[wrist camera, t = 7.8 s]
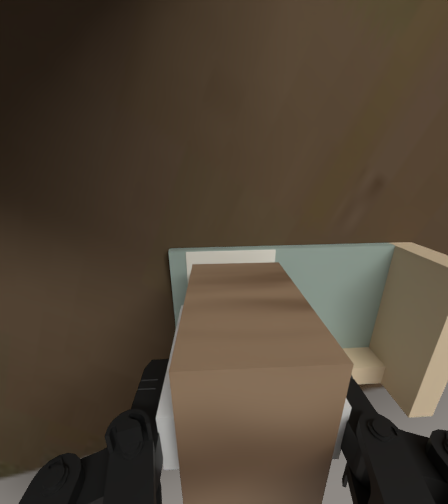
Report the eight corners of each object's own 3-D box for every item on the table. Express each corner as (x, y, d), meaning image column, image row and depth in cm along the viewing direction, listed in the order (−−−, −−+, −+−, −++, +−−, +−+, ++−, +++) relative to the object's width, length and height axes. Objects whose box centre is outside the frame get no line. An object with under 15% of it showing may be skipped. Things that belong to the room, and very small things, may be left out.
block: (192, 264, 13) (168, 372, 6) (278, 262, 13) (353, 363, 6) (198, 372, 16) (186, 535, 9) (270, 368, 16) (316, 525, 9)
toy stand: (181, 366, 19) (171, 432, 14) (169, 248, 15) (151, 284, 10) (378, 356, 19) (432, 416, 15) (410, 242, 16) (494, 272, 11)
